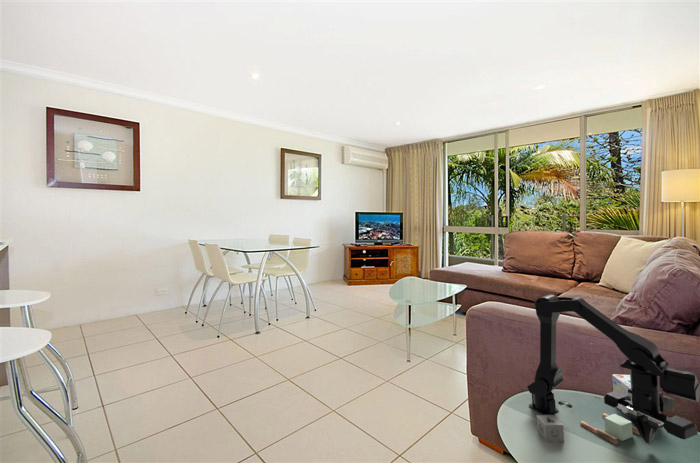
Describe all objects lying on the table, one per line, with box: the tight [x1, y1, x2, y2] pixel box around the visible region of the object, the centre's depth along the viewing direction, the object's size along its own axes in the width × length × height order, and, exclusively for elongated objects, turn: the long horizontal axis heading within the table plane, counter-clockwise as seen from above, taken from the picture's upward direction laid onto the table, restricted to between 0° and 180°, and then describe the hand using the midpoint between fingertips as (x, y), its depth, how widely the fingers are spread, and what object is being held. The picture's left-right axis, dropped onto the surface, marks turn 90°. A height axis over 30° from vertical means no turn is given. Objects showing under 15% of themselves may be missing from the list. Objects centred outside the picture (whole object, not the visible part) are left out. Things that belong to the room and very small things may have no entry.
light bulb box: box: [611, 373, 632, 415], centre depth 104 cm, size 11×7×11 cm, turn 168°
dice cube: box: [536, 414, 565, 443], centre depth 96 cm, size 5×5×5 cm
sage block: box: [604, 413, 634, 441], centre depth 95 cm, size 4×4×4 cm
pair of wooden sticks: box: [579, 412, 641, 445], centre depth 97 cm, size 10×11×2 cm
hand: (648, 443), depth 88 cm, fingers closed
